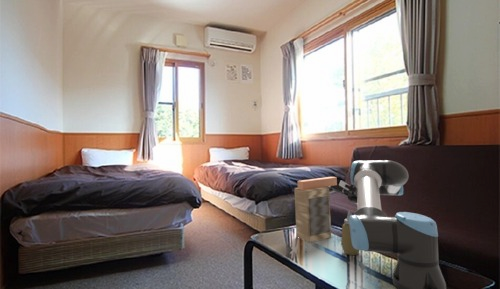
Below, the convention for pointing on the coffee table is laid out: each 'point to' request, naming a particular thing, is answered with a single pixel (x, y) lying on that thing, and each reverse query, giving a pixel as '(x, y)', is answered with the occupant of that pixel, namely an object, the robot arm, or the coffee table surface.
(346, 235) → the squeeze bottle
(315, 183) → the rail
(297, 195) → the stand
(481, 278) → the coffee table surface
